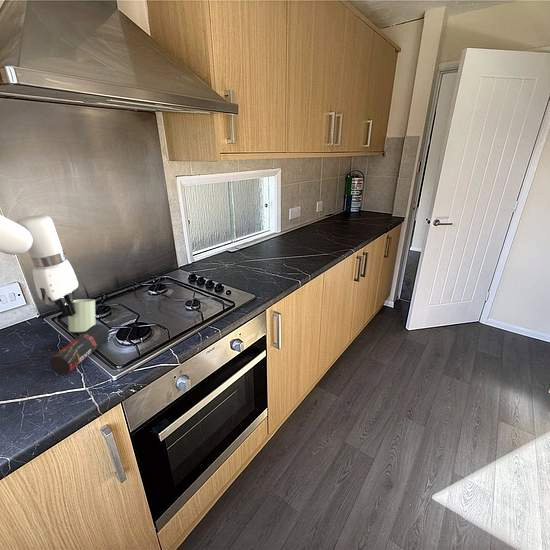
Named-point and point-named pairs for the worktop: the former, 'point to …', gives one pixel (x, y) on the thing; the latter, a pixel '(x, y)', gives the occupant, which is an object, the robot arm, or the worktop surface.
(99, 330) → the deodorant
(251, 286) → the worktop surface
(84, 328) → the cup
